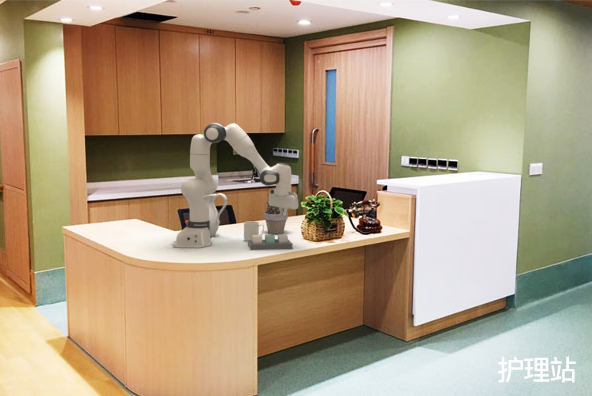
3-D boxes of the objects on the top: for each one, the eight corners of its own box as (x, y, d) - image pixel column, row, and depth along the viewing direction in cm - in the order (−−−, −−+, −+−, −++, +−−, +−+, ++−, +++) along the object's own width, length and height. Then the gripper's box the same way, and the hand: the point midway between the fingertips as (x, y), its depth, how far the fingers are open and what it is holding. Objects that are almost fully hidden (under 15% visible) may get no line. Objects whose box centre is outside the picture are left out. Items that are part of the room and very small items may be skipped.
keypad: (250, 250, 335) (250, 244, 334) (247, 245, 347) (247, 239, 347) (292, 248, 340) (292, 243, 340) (287, 243, 353) (287, 238, 352)
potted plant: (291, 230, 394) (292, 192, 391) (288, 236, 375) (288, 197, 371) (264, 229, 396) (265, 192, 392) (259, 235, 377) (260, 196, 373)
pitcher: (186, 236, 368) (186, 191, 364) (202, 231, 383) (202, 188, 379) (218, 240, 357) (218, 194, 353) (233, 235, 372) (233, 191, 368)
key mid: (266, 243, 340) (266, 236, 340) (264, 241, 345) (264, 234, 345) (274, 243, 342) (275, 236, 341) (273, 241, 346) (273, 234, 346)
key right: (279, 243, 342) (279, 236, 342) (277, 241, 347) (277, 234, 346) (287, 242, 343) (287, 235, 343) (285, 240, 348) (286, 234, 347)
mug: (244, 242, 355) (244, 223, 353) (243, 239, 364) (243, 221, 362) (264, 241, 357) (264, 223, 355) (262, 238, 366) (263, 221, 364)
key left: (253, 243, 339) (253, 236, 338) (252, 241, 344) (252, 235, 343) (262, 243, 340) (262, 236, 339) (260, 241, 345) (260, 234, 344)
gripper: (301, 192, 337) (300, 216, 339) (274, 189, 350) (273, 212, 352) (293, 193, 332) (293, 218, 334) (266, 190, 345) (266, 213, 347)
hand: (283, 215), depth 343 cm, fingers closed
